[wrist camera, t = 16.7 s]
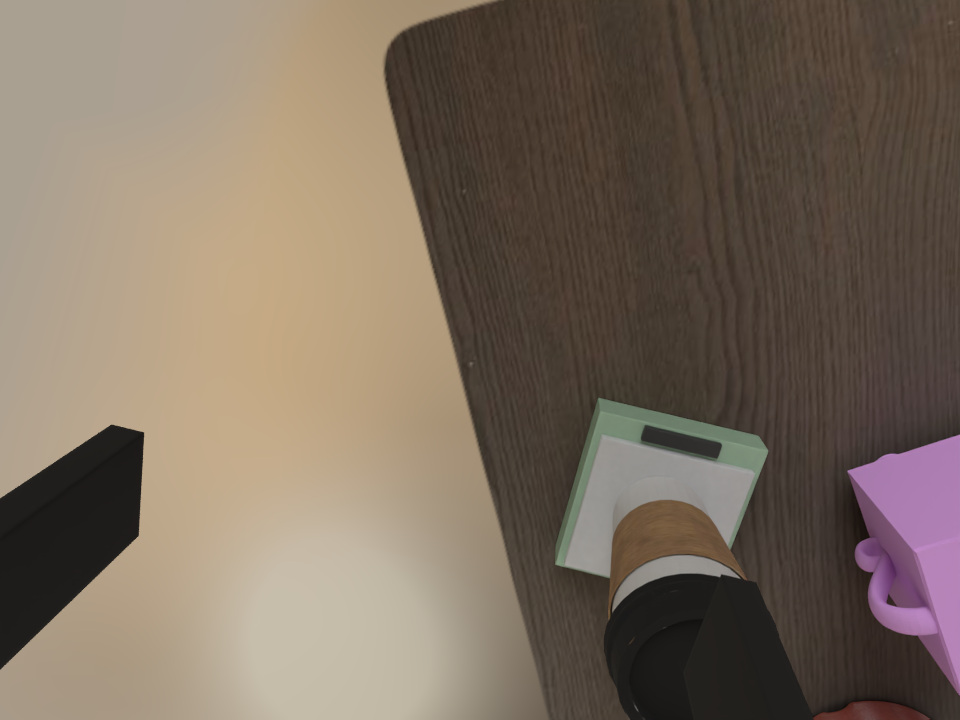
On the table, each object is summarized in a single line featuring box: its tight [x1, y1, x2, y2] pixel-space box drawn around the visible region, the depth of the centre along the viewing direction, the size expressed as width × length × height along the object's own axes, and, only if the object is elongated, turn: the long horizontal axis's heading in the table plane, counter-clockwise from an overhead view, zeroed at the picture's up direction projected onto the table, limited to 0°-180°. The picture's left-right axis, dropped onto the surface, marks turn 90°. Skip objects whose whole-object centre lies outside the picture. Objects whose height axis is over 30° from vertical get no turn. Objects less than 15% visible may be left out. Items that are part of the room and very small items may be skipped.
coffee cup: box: [604, 476, 779, 720], centre depth 40 cm, size 8×8×15 cm
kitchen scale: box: [555, 398, 768, 578], centre depth 48 cm, size 11×12×3 cm
